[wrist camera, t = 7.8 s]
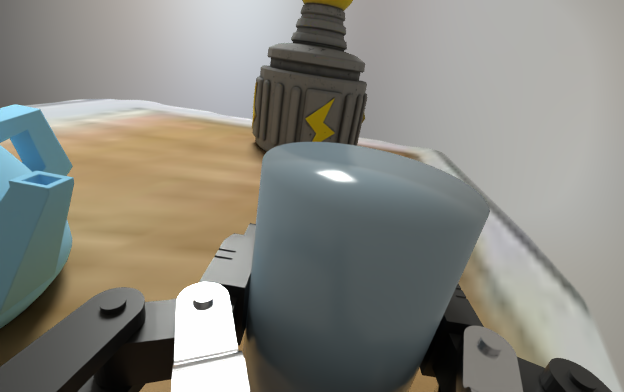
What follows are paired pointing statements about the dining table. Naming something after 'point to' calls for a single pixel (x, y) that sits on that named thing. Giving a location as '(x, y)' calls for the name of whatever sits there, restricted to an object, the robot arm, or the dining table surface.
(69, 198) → the teapot
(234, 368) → the robot arm
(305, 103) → the toy tesla coil
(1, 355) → the dining table surface
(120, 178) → the dining table surface
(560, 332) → the dining table surface
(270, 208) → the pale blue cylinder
